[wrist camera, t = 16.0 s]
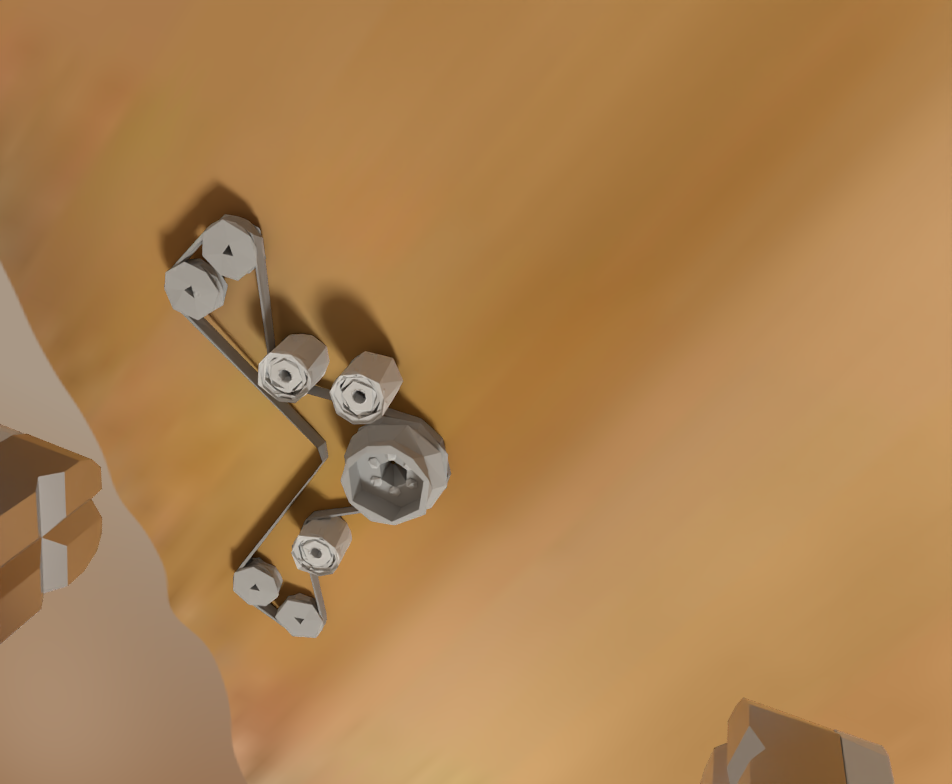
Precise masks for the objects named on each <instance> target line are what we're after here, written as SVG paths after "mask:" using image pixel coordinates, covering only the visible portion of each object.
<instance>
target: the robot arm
mask: <svg viewBox="0 0 952 784" xmlns="http://www.w3.org/2000/svg"><path fill="white" fill-rule="evenodd" d="M101 489H102V483H101V467H100V466H99V465H98V464H97V463H95V462H94V461H93V460H92V459H89V458H87V457H84V456H82V455H79V454H77V453H74V452H72V451H69V450H67V449H64V448H61V447H59V446H56V445H54V444H51V443H49V442H46V441H43V440H41V439H39V438H36V437H34V436H31V435H29V434H23V433H21V432H19V431H16V430H14V429H11V428H9V427H6V426H3V425H1V424H0V644H1V643H3V642H4V641H5V640H6V639H7V638H8V637H9V636H10V635H12V634H13V633H14V632H15V631H16V630H18V629H19V628H20V627H21V626H22V625H23V624H25V623H26V622H27V621H28V620H29V619H30V618H32V617H33V616H34V615H35V614H36V613H37V612H39V611H40V610H41V608H42V602H43V594H44V593H46V592H49V591H53V590H56V589H60V588H63V587H66V586H68V585H69V584H71V583H72V582H73V581H74V580H75V579H76V578H77V577H78V576H79V575H80V574H82V573H83V572H84V571H85V569H86V567H87V566H88V564H89V563H90V561H91V559H92V558H93V556H94V555H95V553H96V551H97V549H98V545H99V541H100V538H101V534H102V517H101V515H100V513H99V511H98V510H97V508H96V506H95V505H94V503H93V501H92V498H93V496H95V495H96V494H97V493H98V492H99V491H100V490H101ZM700 784H895V783H894V778H893V773H892V768H891V764H890V759H889V754H888V753H887V752H886V750H885V749H884V747H883V746H882V745H879V744H876V743H873V742H870V741H867V740H864V739H861V738H858V737H856V736H853V735H850V734H847V733H844V732H841V731H838V730H832V729H830V728H827V727H824V726H822V725H819V724H816V723H813V722H811V721H808V720H805V719H802V718H799V717H797V716H794V715H791V714H788V713H785V712H783V711H780V710H777V709H774V708H771V707H769V706H766V705H763V704H760V703H757V702H755V701H752V700H749V699H746V698H742V699H741V701H740V702H739V703H738V704H737V705H736V706H735V708H734V710H733V712H732V714H731V716H730V718H729V720H728V736H727V743H725V744H723V745H720V746H718V747H715V748H714V749H713V752H712V754H711V756H710V758H709V760H708V762H707V765H706V767H705V769H704V772H703V776H702V779H701V782H700Z"/></svg>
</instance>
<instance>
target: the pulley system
mask: <svg viewBox="0 0 952 784" xmlns="http://www.w3.org/2000/svg"><path fill="white" fill-rule="evenodd" d="M201 244H202V256H203V257H204V258H205V259H206V260H207V261H208V262H209V263H210V264H211V265H210V264H208V263H207V262H205V261H203V260H202V259H189V258H190V257H191V256H192V255H193V253H194V252H195V251H196V250H197V249H198V248H199V247H200V246H201ZM265 259H266V257H265V251H264V243H263V238H262V236H261V232H260V228H258V227H257V226H255V225H253V224H252V223H251V222H250V221H248V220H246V219H244V218H242V217H238V216H233V215H227V214H225V215H224V216H223V217H222V218H221V219H220V220H218V221H216V222H214V223H212V224H211V225H210V226H209V227H208V228H207V229H206V230H205V231H204V232H203V233H202V234H201V235H200V236H199V238H198V239H197V240H196V241H195V242H194V243H193V244H192V245H191V247H190V248H189V249H188V250H187V251H186V252H185V253H184V254H183V255H182V257H181V258H180V259H179V260H178V261H177V262H176V263H175V264H174V266H173V267H172V268H171V269H170V270H168V271H167V272H166V275H165V286H164V287H165V291H166V294H167V296H168V298H169V300H170V303H171V305H172V307H173V309H174V310H177V311H179V312H181V313H182V314H183V315H184V316H185V317H186V318H187V319H188V320H189V321H190V322H191V323H192V324H193V325H194V326H195V327H196V328H197V329H198V330H199V331H200V332H201V333H202V334H203V335H204V336H205V337H206V338H207V339H208V340H209V341H210V342H211V343H212V344H213V345H214V346H215V347H216V348H217V349H218V350H219V351H220V352H221V353H222V354H223V355H224V356H225V357H226V358H227V359H228V360H229V361H230V362H231V363H232V364H233V365H234V366H235V367H236V368H237V369H238V370H239V371H240V372H241V373H242V374H243V375H244V376H245V377H246V378H247V379H248V380H249V381H250V382H251V383H252V384H253V385H254V386H255V387H256V388H257V389H258V390H259V391H260V392H262V393H263V394H264V395H265V396H266V397H267V398H268V399H269V400H270V401H271V402H272V403H273V404H274V405H275V406H276V407H277V408H278V409H279V410H280V411H281V412H282V413H283V414H284V415H285V416H286V417H287V418H288V419H289V420H290V421H291V422H292V423H293V424H294V425H295V426H296V427H297V428H298V429H299V430H300V431H301V432H302V433H303V434H304V435H305V436H306V437H307V438H308V439H309V440H310V441H311V442H312V443H313V444H314V445H315V446H316V447H317V448H318V451H319V454H320V457H321V460H322V463H321V465H320V466H319V467H318V468H317V470H316V471H315V472H314V473H313V475H312V476H311V477H310V478H309V480H308V481H307V482H306V483H305V485H304V486H303V487H302V489H301V490H300V491H299V492H298V494H297V495H296V496H295V497H294V499H293V500H292V501H291V502H290V504H289V505H288V506H287V507H286V509H285V510H284V511H283V512H282V514H281V515H280V516H279V517H278V519H277V520H276V521H275V522H274V524H273V525H272V526H271V527H270V529H269V530H268V531H267V533H266V534H265V535H264V536H263V538H262V539H261V540H260V541H259V543H258V544H257V545H256V546H255V548H254V549H253V550H252V551H251V553H250V554H249V555H248V556H247V558H246V559H245V560H244V561H243V562H242V564H241V565H240V567H239V568H238V569H237V571H236V572H235V573H234V577H233V591H234V592H235V593H237V594H238V595H239V596H240V597H241V598H242V599H243V600H244V601H245V602H246V603H247V604H249V605H254V606H255V607H256V608H258V609H259V610H261V611H262V612H263V613H265V614H266V615H268V616H269V617H270V618H272V619H273V620H275V621H276V622H277V623H279V624H280V625H282V626H283V627H284V628H286V630H287V631H288V632H289V633H290V634H291V635H292V636H297V637H312V638H316V637H317V636H318V634H319V633H320V632H321V630H322V629H323V627H324V625H325V623H326V620H327V617H326V610H325V606H324V601H323V597H322V593H321V589H320V584H319V579H318V576H323V575H328V574H333V573H334V571H335V570H336V569H337V567H338V566H339V564H340V562H341V560H342V558H343V556H344V554H345V552H346V550H347V548H348V547H349V545H350V542H351V540H352V536H351V531H350V529H349V527H348V525H347V523H346V522H345V521H344V520H343V519H341V518H340V517H339V516H342V515H349V514H356V513H362V514H363V515H364V516H366V517H367V518H368V519H369V520H370V521H373V522H379V523H385V524H391V525H397V524H400V523H402V522H405V521H408V520H411V519H414V518H417V517H419V516H422V515H425V514H426V509H429V508H431V507H432V506H433V505H434V503H435V502H436V500H437V499H438V497H439V496H440V495H441V493H442V492H443V490H444V489H446V488H447V482H448V480H449V478H450V475H451V472H450V467H449V463H448V454H447V453H446V450H445V446H444V442H443V438H442V437H441V436H440V435H439V434H438V433H437V432H436V431H434V430H433V429H432V428H431V427H430V426H429V425H428V424H427V423H426V422H425V421H424V420H423V419H421V418H418V417H415V416H412V415H409V414H406V413H403V412H400V411H397V410H394V409H390V408H388V407H389V405H390V403H391V402H392V400H393V399H394V397H395V395H396V394H397V392H398V390H399V388H400V386H401V384H402V382H403V379H402V377H401V375H400V372H399V370H398V368H397V366H396V363H395V361H394V359H393V358H391V357H387V356H383V355H379V354H375V353H371V352H367V351H364V352H363V353H361V354H360V355H358V356H357V357H355V358H354V359H353V360H352V361H351V363H350V364H349V366H348V367H347V368H346V369H345V370H344V372H343V373H342V374H341V375H340V376H339V377H338V378H337V379H336V380H335V382H334V383H333V385H332V388H331V390H329V389H325V388H322V387H318V386H315V384H316V383H317V382H318V381H319V380H320V379H321V378H322V377H323V375H324V374H325V372H326V368H327V366H328V364H329V356H328V350H327V346H326V345H324V344H323V343H322V342H320V341H319V340H318V339H316V338H315V337H314V336H312V335H306V334H290V335H289V336H287V337H286V338H285V339H283V340H282V342H281V343H280V344H279V345H278V346H277V347H276V348H275V339H274V331H273V322H272V313H271V304H270V296H269V287H268V278H267V270H266V261H265ZM255 268H256V275H257V282H258V289H259V296H260V303H261V310H262V318H263V325H264V332H265V339H266V346H267V353H268V354H267V355H266V356H265V357H264V358H263V360H262V361H261V362H260V363H259V370H258V372H257V371H256V370H255V369H254V368H253V367H252V366H251V365H250V364H249V363H248V362H247V361H246V360H245V359H244V358H243V357H242V356H241V355H240V354H239V353H238V352H237V351H236V350H235V349H234V348H233V347H232V346H231V345H230V344H229V343H228V342H227V341H226V340H225V339H224V338H223V337H222V336H221V335H220V334H219V333H218V332H217V330H216V329H215V328H214V327H213V326H212V325H211V324H210V323H209V322H208V321H207V320H206V319H205V318H204V316H206V315H207V314H209V313H211V312H212V311H214V310H215V309H217V308H219V307H221V306H222V305H223V304H224V299H225V295H226V291H227V286H228V285H227V283H226V282H225V280H224V279H223V277H222V276H225V277H228V278H231V279H234V280H237V281H238V280H239V279H240V278H242V277H243V276H244V275H245V274H247V273H250V272H251V271H252V270H253V269H255ZM306 394H311V395H314V396H318V397H321V398H325V399H329V400H332V402H333V405H334V408H335V411H336V414H338V415H339V416H341V417H342V418H344V419H345V420H347V421H349V422H350V423H352V424H367V425H365V426H362V427H360V428H359V429H358V432H357V433H356V434H355V435H353V436H352V438H351V441H350V443H349V445H348V448H347V450H346V453H345V455H344V457H345V464H346V465H345V468H344V471H343V474H342V478H341V483H342V486H343V488H344V491H345V493H346V496H347V498H348V501H349V503H350V504H351V505H353V507H345V508H337V509H328V510H320V511H314V512H313V513H312V514H311V515H310V516H309V517H308V518H307V519H306V520H305V522H304V524H303V527H302V529H301V531H300V534H299V536H298V537H297V538H296V540H295V541H294V544H293V545H292V552H291V553H292V556H293V558H294V561H295V563H296V566H297V568H298V569H299V570H302V571H305V572H309V573H310V577H311V581H312V585H313V589H314V593H315V597H316V601H315V600H314V598H313V597H309V596H306V595H304V594H301V593H298V594H296V595H293V596H288V597H287V599H286V600H285V602H284V603H283V604H282V605H281V606H280V607H279V608H278V610H277V609H276V608H275V607H274V606H272V605H271V604H270V602H272V601H273V600H274V599H276V598H277V597H278V595H279V593H278V592H279V590H280V587H281V585H282V581H283V580H282V577H281V575H280V573H279V571H278V570H277V568H276V567H275V566H273V565H270V564H268V563H265V562H264V561H263V560H262V559H261V558H251V557H252V555H253V554H254V553H255V551H256V550H257V549H258V547H259V546H260V545H261V544H262V542H263V541H264V540H265V538H266V537H267V536H268V534H269V533H270V532H271V531H272V529H273V528H274V527H275V525H276V524H277V523H278V522H279V520H280V519H281V518H282V516H283V515H284V514H285V512H286V511H287V510H288V509H289V507H290V506H291V505H292V503H293V502H294V501H295V499H296V498H297V497H298V496H299V494H300V493H301V492H302V490H303V489H304V488H305V486H306V485H307V484H308V483H309V481H310V480H311V479H312V477H313V476H314V475H315V474H316V472H317V471H318V470H319V468H320V467H321V466H322V464H323V463H324V462H325V461H326V459H327V458H328V452H327V446H326V442H325V441H324V440H323V439H322V437H321V436H320V435H319V434H318V433H317V432H316V431H315V430H314V429H313V428H312V427H311V426H310V425H309V424H308V423H307V422H306V421H305V420H304V419H303V418H302V417H301V416H300V415H299V414H298V413H297V412H296V411H295V410H294V409H293V408H292V407H291V406H290V405H289V404H288V403H287V402H290V403H296V402H297V401H298V400H299V399H300V398H302V397H303V396H305V395H306ZM383 415H386V417H385V416H383ZM382 416H383V417H382ZM381 417H382V418H381ZM392 460H393V461H395V462H396V463H398V464H399V465H401V466H402V467H401V466H399V465H397V464H392V463H391V461H392ZM447 473H448V475H447Z"/></svg>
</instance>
